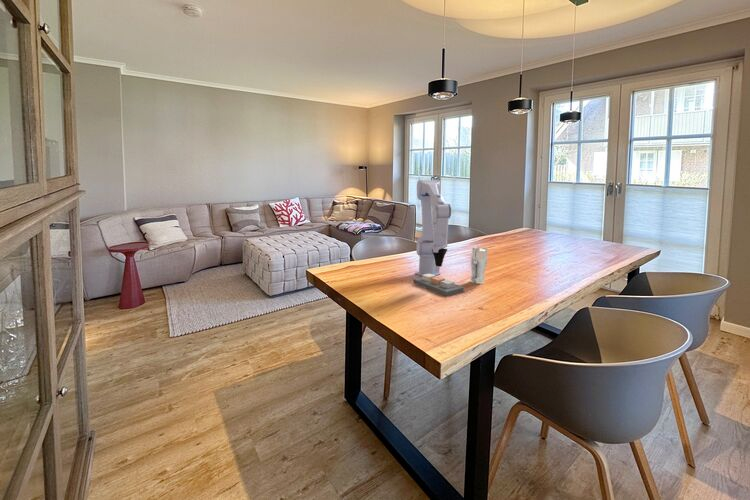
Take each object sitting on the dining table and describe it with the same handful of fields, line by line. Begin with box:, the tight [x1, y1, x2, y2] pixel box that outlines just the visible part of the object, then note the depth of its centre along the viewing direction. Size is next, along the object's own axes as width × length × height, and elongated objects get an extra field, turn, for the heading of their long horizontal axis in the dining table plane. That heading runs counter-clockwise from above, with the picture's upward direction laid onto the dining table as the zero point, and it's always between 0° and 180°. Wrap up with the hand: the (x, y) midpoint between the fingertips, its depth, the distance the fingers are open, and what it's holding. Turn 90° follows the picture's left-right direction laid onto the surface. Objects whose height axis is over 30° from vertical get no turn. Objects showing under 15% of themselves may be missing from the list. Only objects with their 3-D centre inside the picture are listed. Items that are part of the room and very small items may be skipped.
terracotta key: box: [431, 276, 446, 285], centre depth 157 cm, size 4×4×2 cm
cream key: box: [421, 274, 437, 282], centre depth 161 cm, size 4×4×2 cm
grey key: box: [440, 279, 456, 289], centre depth 152 cm, size 4×4×2 cm
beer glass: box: [469, 247, 489, 285], centre depth 164 cm, size 7×7×15 cm
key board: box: [412, 276, 465, 297], centre depth 157 cm, size 10×20×2 cm, turn 35°
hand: (438, 266), depth 155 cm, fingers closed
